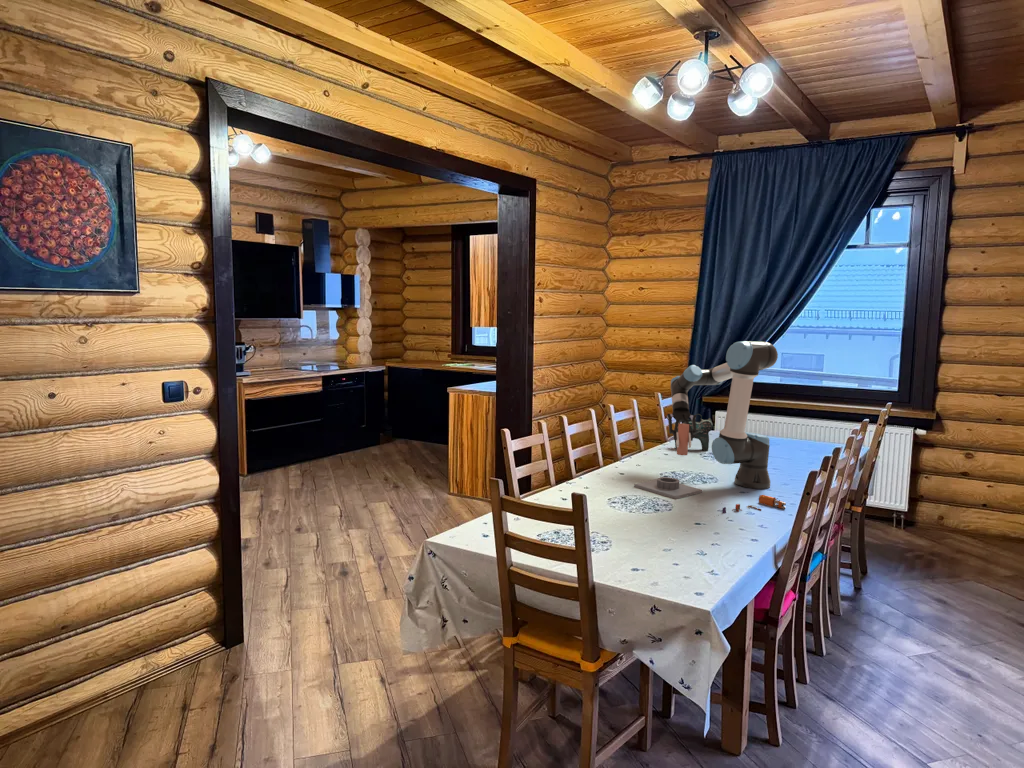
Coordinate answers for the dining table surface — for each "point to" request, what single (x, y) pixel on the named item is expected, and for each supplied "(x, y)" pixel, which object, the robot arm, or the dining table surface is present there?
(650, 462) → the dining table surface
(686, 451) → the pink cylindrical peg
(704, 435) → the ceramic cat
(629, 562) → the dining table surface
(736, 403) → the robot arm
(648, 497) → the dining table surface
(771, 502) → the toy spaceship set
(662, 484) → the cradle
